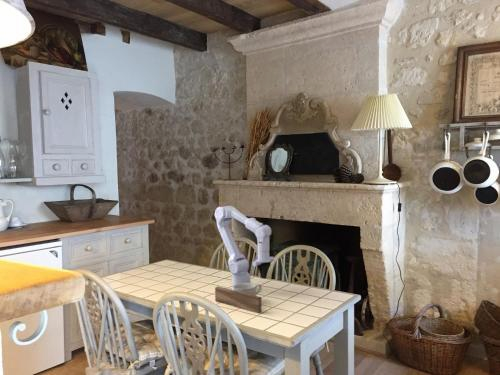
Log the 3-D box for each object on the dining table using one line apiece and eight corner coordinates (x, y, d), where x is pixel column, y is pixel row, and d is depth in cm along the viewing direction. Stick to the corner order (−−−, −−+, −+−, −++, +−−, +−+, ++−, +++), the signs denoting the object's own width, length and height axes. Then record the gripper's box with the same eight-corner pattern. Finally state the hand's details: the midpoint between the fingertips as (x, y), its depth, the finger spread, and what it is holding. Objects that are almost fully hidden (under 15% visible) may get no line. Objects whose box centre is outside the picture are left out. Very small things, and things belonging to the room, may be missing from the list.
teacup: (236, 307, 177) (235, 289, 177) (230, 299, 188) (230, 283, 187) (265, 304, 181) (265, 287, 181) (259, 297, 191) (258, 280, 191)
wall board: (218, 300, 187) (218, 286, 187) (261, 312, 171) (261, 297, 171) (215, 301, 186) (215, 287, 186) (258, 313, 169) (258, 298, 169)
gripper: (260, 254, 184) (260, 282, 185) (278, 249, 195) (278, 276, 196) (249, 252, 189) (249, 280, 189) (267, 247, 200) (267, 273, 201)
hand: (263, 278), depth 193 cm, fingers closed
